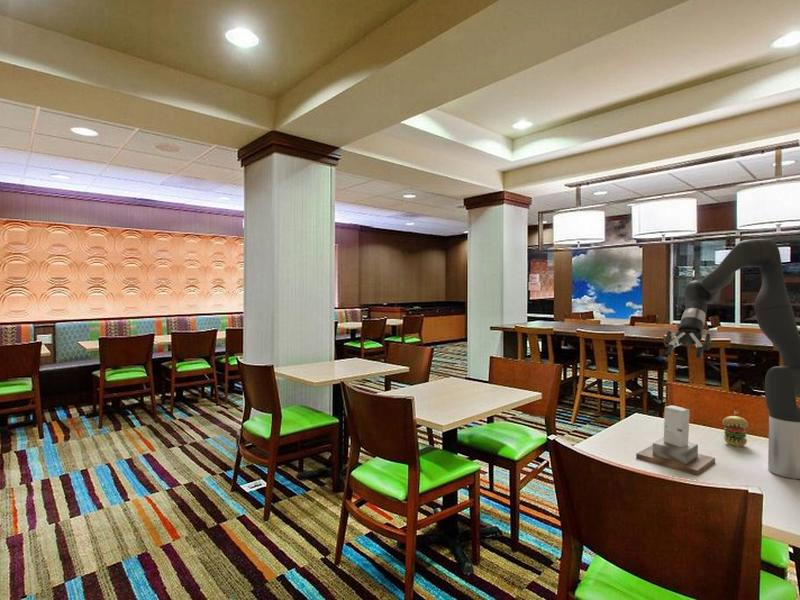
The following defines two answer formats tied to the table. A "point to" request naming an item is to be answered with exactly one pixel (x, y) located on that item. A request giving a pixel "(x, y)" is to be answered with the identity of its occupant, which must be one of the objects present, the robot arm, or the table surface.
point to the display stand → (676, 457)
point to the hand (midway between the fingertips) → (683, 356)
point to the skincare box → (676, 426)
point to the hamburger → (735, 430)
